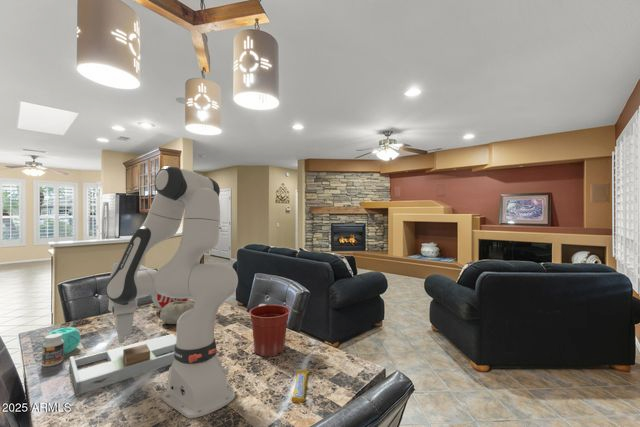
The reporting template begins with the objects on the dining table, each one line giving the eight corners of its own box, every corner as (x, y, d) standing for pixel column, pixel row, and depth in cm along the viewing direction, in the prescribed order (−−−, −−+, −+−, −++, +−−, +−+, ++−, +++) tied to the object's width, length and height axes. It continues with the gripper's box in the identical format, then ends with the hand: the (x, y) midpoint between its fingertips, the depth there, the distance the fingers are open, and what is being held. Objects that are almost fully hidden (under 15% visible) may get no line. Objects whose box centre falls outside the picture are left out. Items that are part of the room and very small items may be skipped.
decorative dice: (80, 347, 116) (81, 327, 116) (60, 356, 108) (61, 335, 108) (62, 346, 117) (63, 326, 117) (42, 355, 109) (42, 334, 109)
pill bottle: (44, 368, 100) (45, 340, 100) (39, 364, 103) (40, 336, 103) (65, 362, 104) (66, 334, 105) (60, 357, 108) (61, 331, 108)
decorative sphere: (155, 318, 150) (156, 280, 151) (147, 308, 165) (148, 274, 166) (194, 310, 163) (195, 275, 164) (184, 302, 178) (184, 270, 179)
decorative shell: (187, 313, 159) (187, 295, 159) (205, 320, 148) (206, 301, 148) (153, 322, 144) (153, 303, 144) (171, 331, 134) (171, 310, 134)
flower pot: (240, 349, 116) (241, 310, 116) (272, 337, 128) (273, 302, 128) (264, 364, 105) (265, 320, 105) (297, 349, 117) (298, 310, 117)
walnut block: (149, 362, 100) (150, 350, 100) (126, 368, 96) (126, 356, 96) (145, 354, 106) (146, 344, 106) (123, 360, 101) (123, 349, 101)
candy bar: (304, 405, 83) (304, 399, 83) (290, 405, 83) (290, 398, 83) (309, 374, 100) (309, 368, 100) (297, 373, 100) (297, 368, 100)
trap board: (192, 357, 109) (192, 347, 109) (76, 395, 85) (76, 382, 85) (172, 339, 125) (172, 330, 125) (69, 367, 101) (69, 356, 101)
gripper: (111, 299, 112) (109, 335, 111) (114, 311, 96) (112, 353, 95) (130, 297, 116) (128, 331, 115) (136, 308, 100) (134, 349, 99)
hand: (121, 341), depth 105 cm, fingers closed
